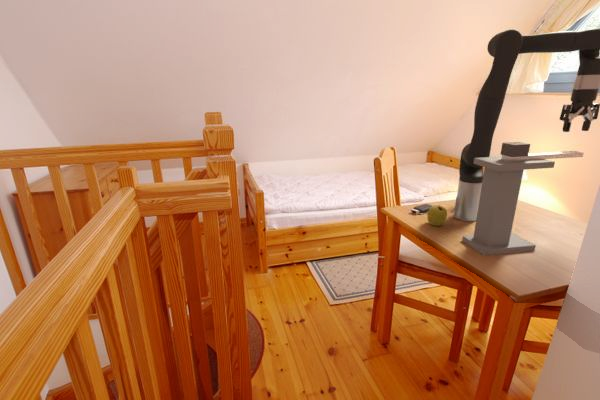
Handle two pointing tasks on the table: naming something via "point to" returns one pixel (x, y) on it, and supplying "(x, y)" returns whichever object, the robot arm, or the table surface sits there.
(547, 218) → the table surface
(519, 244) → the gray stand
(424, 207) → the usb drive
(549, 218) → the table surface
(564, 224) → the table surface
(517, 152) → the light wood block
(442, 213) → the apple
